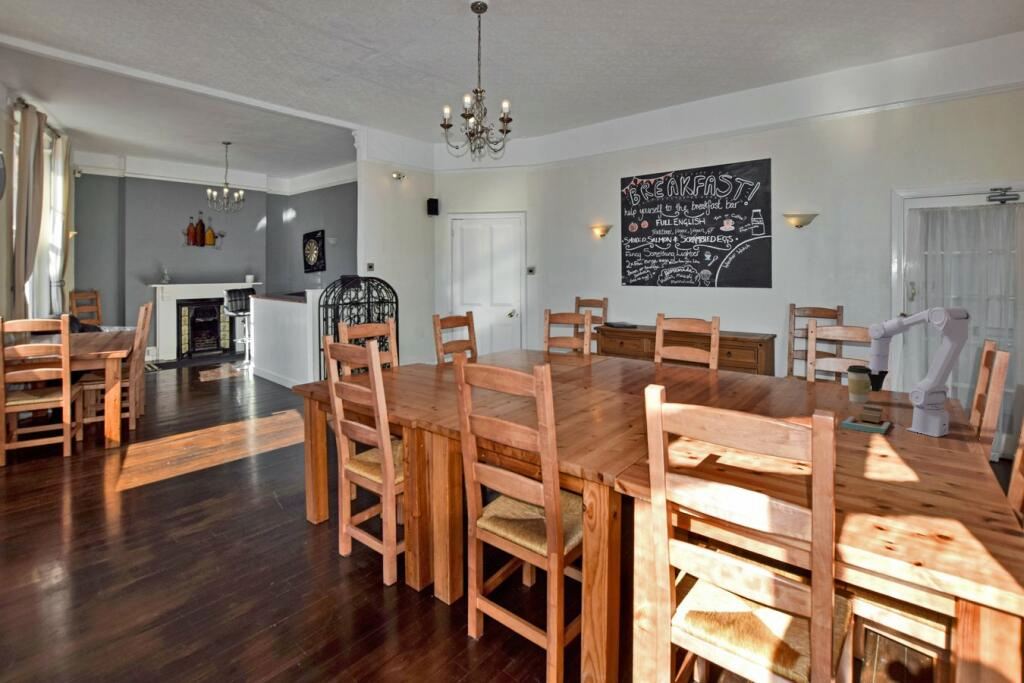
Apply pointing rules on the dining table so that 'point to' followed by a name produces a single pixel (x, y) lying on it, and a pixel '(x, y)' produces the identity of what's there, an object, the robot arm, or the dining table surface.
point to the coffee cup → (858, 383)
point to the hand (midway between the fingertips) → (876, 390)
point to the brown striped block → (871, 414)
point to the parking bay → (864, 426)
